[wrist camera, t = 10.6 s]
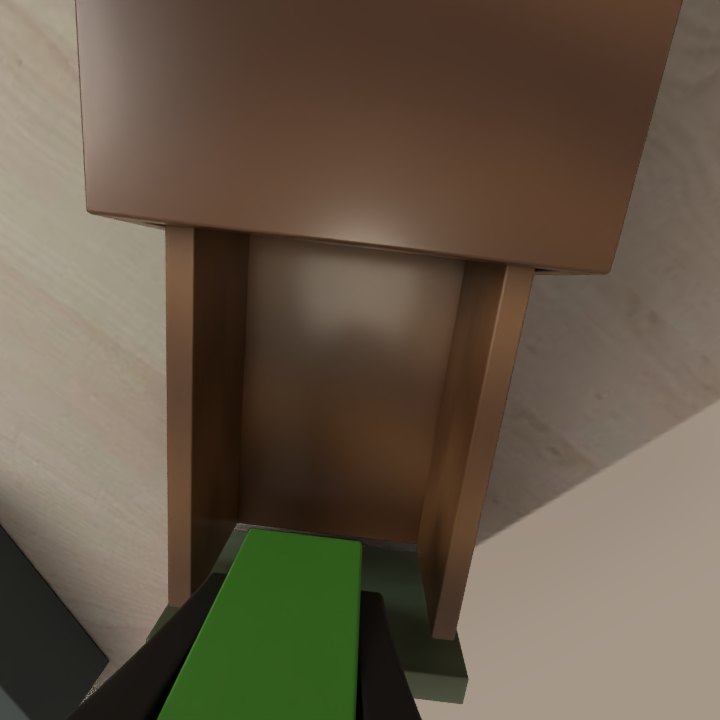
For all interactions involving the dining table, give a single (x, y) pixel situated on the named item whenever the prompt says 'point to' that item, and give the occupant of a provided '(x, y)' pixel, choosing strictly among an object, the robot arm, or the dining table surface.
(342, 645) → the yellow-striped green block
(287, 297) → the drawer
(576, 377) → the dining table surface
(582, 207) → the cabinet
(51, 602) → the dark grey square tile
